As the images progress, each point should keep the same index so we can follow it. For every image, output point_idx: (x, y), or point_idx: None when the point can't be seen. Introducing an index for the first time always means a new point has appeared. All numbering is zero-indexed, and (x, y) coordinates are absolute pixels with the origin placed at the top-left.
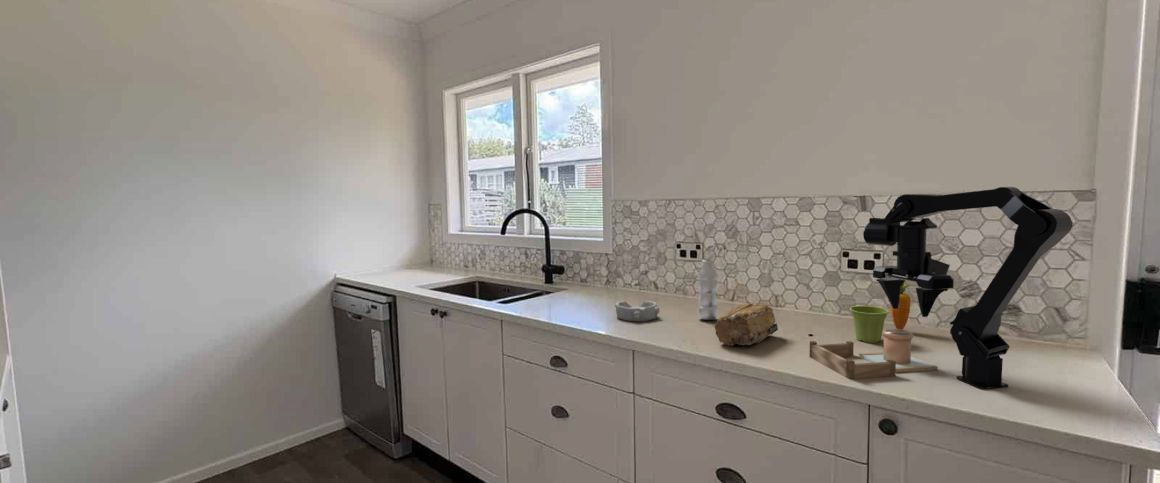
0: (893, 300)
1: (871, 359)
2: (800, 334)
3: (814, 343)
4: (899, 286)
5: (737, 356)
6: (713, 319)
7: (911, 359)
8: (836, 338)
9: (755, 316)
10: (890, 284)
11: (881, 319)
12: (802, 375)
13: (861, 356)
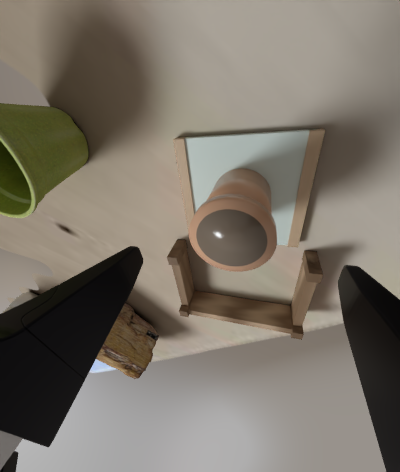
0: (120, 294)
1: None
2: (68, 241)
3: (188, 313)
4: (16, 344)
5: (184, 342)
6: None
7: (240, 156)
8: (74, 200)
9: (118, 354)
10: (45, 398)
11: (29, 143)
12: (263, 337)
13: None
